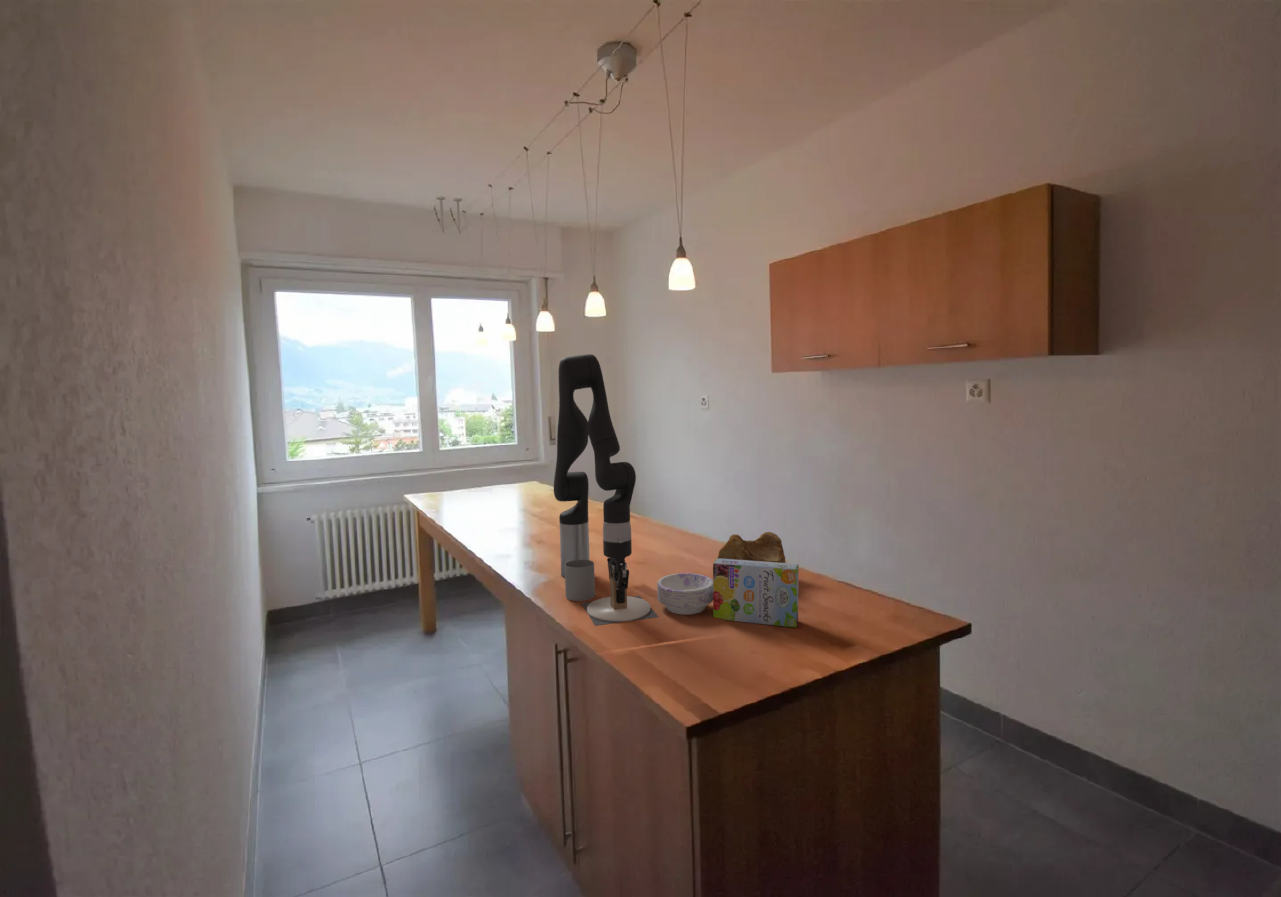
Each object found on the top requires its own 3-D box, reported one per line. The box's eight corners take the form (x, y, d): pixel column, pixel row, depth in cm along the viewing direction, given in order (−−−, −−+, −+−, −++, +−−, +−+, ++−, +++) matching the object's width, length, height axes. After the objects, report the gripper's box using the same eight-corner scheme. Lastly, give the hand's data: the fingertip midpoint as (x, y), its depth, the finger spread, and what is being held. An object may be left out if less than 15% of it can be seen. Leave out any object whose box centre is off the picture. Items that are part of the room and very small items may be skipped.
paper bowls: (649, 615, 162) (648, 586, 161) (668, 597, 176) (668, 570, 175) (705, 623, 156) (704, 593, 155) (720, 603, 170) (720, 575, 169)
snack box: (798, 620, 157) (799, 563, 155) (796, 629, 152) (797, 569, 150) (716, 612, 164) (716, 556, 162) (712, 619, 159) (711, 562, 157)
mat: (581, 604, 171) (581, 603, 171) (639, 597, 176) (639, 595, 176) (595, 627, 155) (595, 625, 155) (659, 618, 160) (659, 616, 160)
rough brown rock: (745, 602, 173) (750, 551, 170) (708, 582, 187) (712, 534, 184) (804, 589, 185) (808, 541, 183) (765, 571, 199) (769, 526, 197)
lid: (581, 603, 171) (580, 572, 170) (639, 595, 176) (639, 565, 175) (595, 625, 155) (594, 591, 154) (659, 616, 160) (658, 583, 159)
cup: (590, 603, 172) (589, 568, 171) (561, 601, 173) (560, 567, 172) (598, 593, 180) (597, 560, 179) (571, 592, 182) (570, 558, 181)
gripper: (597, 532, 169) (598, 593, 170) (610, 545, 155) (611, 611, 157) (623, 530, 171) (624, 590, 173) (638, 542, 157) (639, 607, 159)
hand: (618, 600), depth 165 cm, fingers closed on lid, 3 cm apart
